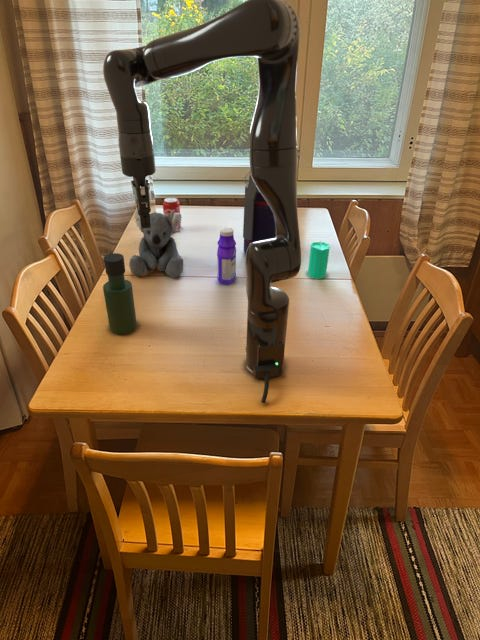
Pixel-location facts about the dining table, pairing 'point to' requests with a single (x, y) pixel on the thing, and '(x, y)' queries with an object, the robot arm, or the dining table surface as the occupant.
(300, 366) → the dining table surface
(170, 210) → the beverage can
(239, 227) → the dining table surface
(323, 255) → the candle
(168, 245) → the koala plush
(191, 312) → the dining table surface
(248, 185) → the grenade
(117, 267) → the cylinder
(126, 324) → the green bottle
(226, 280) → the bottle
